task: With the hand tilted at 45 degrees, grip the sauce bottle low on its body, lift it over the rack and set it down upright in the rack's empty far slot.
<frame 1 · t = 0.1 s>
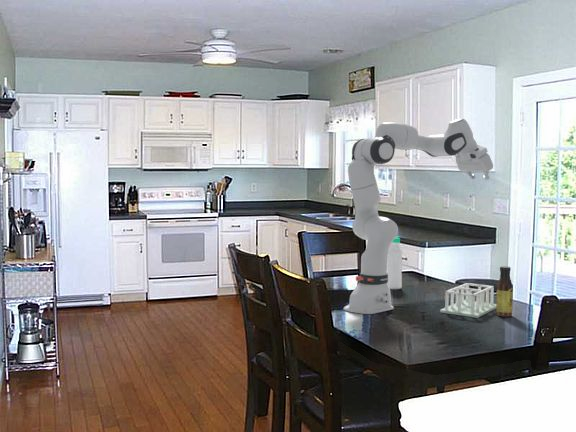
hand: (479, 178, 296), 54 cm above the table, tool tilted 30°, fingers open, 8 cm apart
dish rack: (470, 309, 273), on the table
water bottle: (394, 288, 318), on the table
sauce bottle: (504, 316, 262), on the table
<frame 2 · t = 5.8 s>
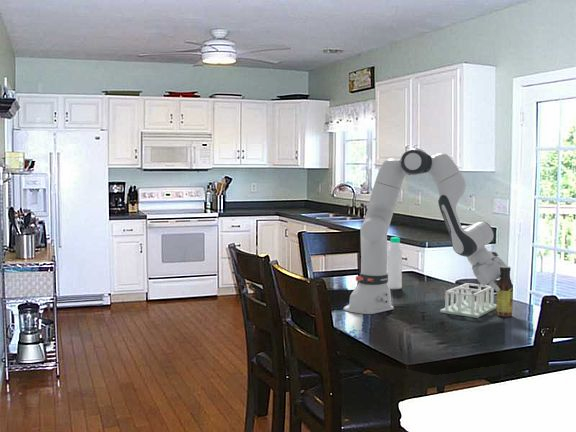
hand: (504, 287, 262), 11 cm above the table, tool tilted 45°, fingers open, 8 cm apart
nothing on the table moved.
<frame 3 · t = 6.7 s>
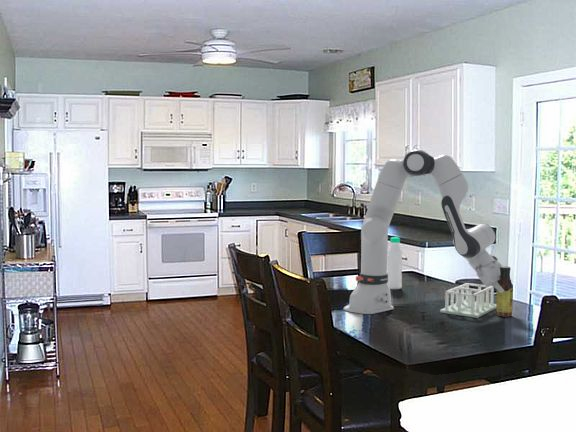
hand: (506, 290, 261), 10 cm above the table, tool tilted 45°, fingers closed on sauce bottle, 6 cm apart
sauce bottle: (504, 316, 262), on the table, touching gripper
everything else where it was.
when the fingers open (13 cm above the table, at t = 16.8 s): sauce bottle stays where it is, resting on dish rack.
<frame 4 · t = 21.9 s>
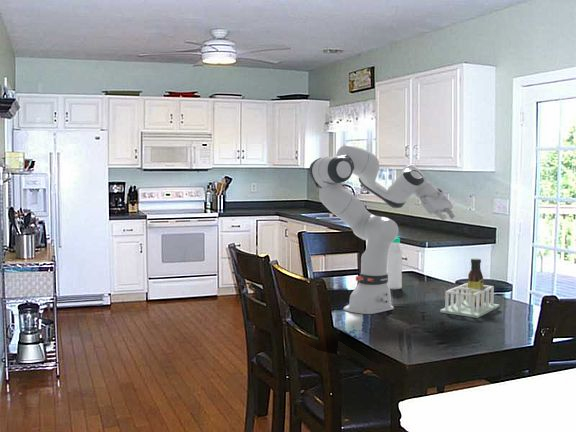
hand: (449, 218, 281), 37 cm above the table, tool tilted 45°, fingers open, 8 cm apart
sauce bottle: (474, 305, 276), point 1 cm above the table, touching dish rack
everything else where it was.
at the end: sauce bottle 0.3 cm from the target spot on the dish rack, point 0.8 cm above the dish rack's base; sauce bottle tilted 0°; the gripper is holding nothing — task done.
